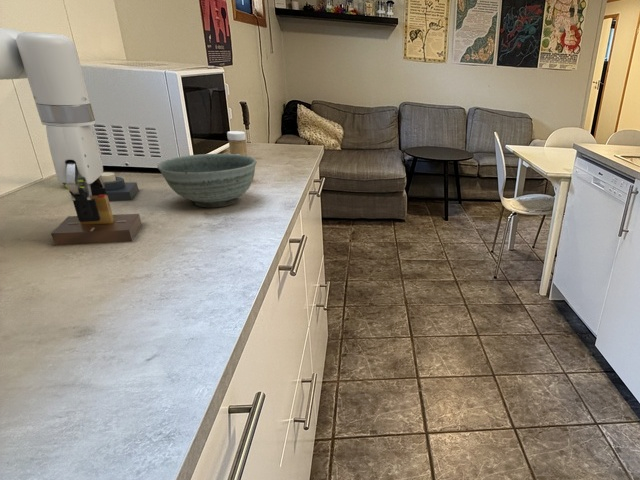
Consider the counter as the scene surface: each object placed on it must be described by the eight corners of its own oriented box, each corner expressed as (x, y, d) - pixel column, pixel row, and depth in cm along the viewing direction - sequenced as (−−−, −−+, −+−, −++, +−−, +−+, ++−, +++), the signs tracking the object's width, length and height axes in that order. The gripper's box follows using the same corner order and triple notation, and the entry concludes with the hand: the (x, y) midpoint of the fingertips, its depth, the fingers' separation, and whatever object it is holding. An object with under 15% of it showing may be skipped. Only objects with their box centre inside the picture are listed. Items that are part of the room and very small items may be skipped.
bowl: (261, 213, 109) (256, 170, 104) (158, 217, 102) (148, 171, 97) (261, 190, 126) (256, 152, 121) (172, 192, 119) (164, 151, 115)
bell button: (96, 183, 109) (94, 175, 108) (100, 179, 112) (98, 172, 111) (114, 183, 110) (112, 175, 109) (117, 179, 113) (115, 172, 112)
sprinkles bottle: (235, 184, 130) (228, 133, 123) (232, 180, 133) (225, 130, 127) (252, 183, 132) (246, 133, 126) (249, 179, 135) (243, 130, 129)
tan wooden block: (80, 224, 88) (72, 197, 86) (83, 221, 90) (75, 194, 87) (112, 223, 90) (104, 196, 88) (114, 220, 92) (107, 194, 89)
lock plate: (55, 246, 85) (50, 232, 84) (71, 228, 93) (67, 215, 92) (132, 242, 89) (128, 229, 88) (141, 225, 97) (138, 212, 96)
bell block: (80, 202, 107) (75, 185, 105) (91, 192, 115) (86, 175, 113) (131, 201, 111) (127, 184, 109) (138, 191, 118) (135, 175, 116)
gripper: (57, 108, 87) (84, 202, 95) (19, 121, 73) (56, 231, 81) (105, 109, 89) (128, 201, 98) (78, 122, 75) (107, 228, 83)
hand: (95, 214), depth 89 cm, fingers open, 6 cm apart
